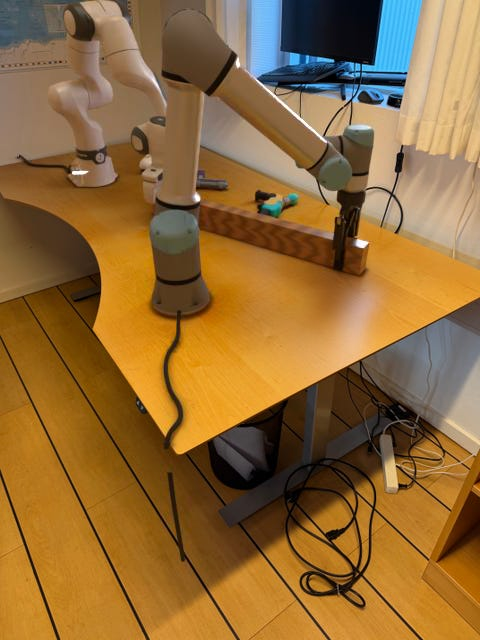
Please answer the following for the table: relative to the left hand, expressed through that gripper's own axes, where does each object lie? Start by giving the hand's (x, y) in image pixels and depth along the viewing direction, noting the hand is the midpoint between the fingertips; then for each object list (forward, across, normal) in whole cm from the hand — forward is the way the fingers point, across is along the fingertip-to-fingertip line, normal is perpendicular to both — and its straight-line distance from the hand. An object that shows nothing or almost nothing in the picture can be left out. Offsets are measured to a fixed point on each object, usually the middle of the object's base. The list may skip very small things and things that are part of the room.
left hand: (169, 207), depth 169 cm
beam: (+3, 0, +33) cm, 34 cm away
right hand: (+3, 0, +67) cm, 67 cm away
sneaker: (+3, -41, -43) cm, 60 cm away
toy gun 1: (+3, -33, -8) cm, 34 cm away
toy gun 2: (+3, -23, +27) cm, 35 cm away
